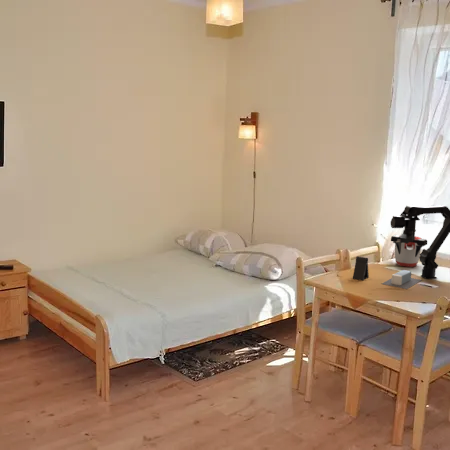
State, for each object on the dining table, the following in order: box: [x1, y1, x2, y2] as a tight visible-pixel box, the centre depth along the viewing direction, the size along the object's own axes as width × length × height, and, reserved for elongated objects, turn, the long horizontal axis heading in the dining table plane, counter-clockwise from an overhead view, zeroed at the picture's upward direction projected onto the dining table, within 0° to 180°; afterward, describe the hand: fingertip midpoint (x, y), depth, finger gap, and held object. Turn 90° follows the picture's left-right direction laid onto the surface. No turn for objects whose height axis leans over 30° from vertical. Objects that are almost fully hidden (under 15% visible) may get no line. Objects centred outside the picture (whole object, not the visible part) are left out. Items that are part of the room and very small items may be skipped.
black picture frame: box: [352, 256, 370, 281], centre depth 305 cm, size 9×6×12 cm, turn 145°
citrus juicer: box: [394, 234, 423, 268], centre depth 334 cm, size 16×17×20 cm
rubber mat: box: [381, 277, 422, 290], centre depth 299 cm, size 22×14×1 cm, turn 141°
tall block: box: [391, 269, 412, 285], centre depth 298 cm, size 5×5×14 cm
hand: (407, 255), depth 305 cm, fingers open, 9 cm apart
